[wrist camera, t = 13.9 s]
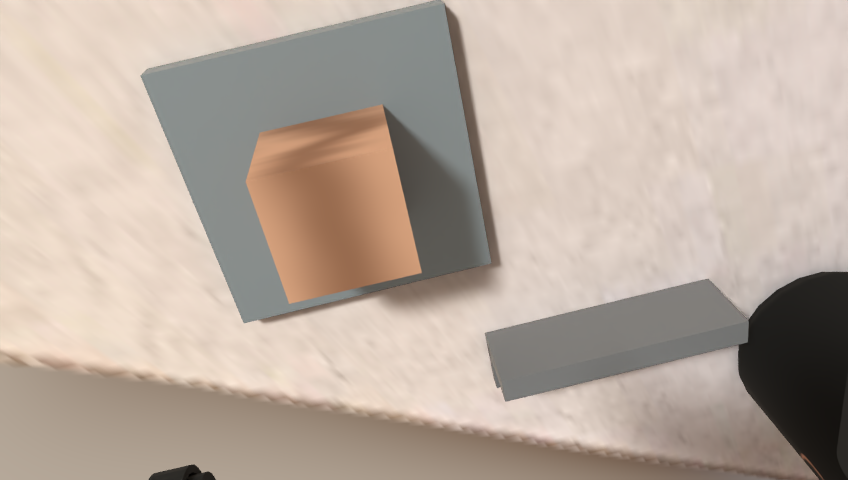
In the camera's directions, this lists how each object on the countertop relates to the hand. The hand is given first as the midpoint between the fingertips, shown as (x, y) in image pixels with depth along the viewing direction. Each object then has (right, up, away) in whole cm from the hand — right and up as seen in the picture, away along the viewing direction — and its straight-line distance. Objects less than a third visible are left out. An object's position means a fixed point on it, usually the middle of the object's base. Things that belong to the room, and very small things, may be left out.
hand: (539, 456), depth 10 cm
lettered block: (-6, +6, +24) cm, 25 cm away
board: (-6, +7, +25) cm, 26 cm away
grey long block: (+9, -2, +32) cm, 33 cm away
